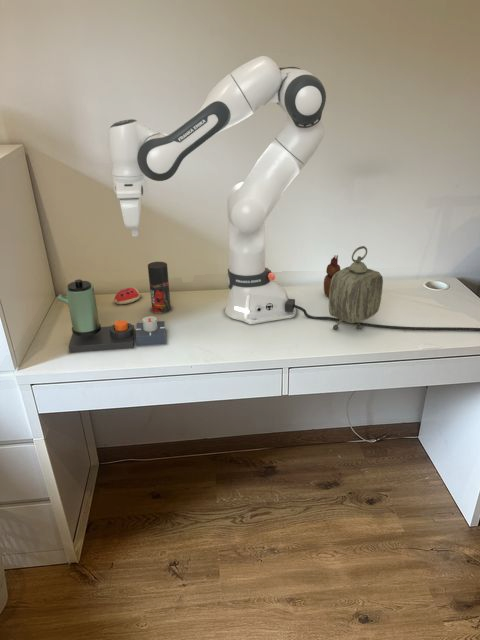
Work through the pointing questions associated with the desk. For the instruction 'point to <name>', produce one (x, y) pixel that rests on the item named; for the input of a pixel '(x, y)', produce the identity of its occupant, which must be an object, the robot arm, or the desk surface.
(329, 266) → the wooden figurine
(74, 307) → the kettle
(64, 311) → the desk surface
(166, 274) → the deodorant
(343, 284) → the tabletop clock
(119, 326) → the power button
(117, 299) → the ladybug figurine
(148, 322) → the temp dial
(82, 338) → the kettle base
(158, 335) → the control pad
